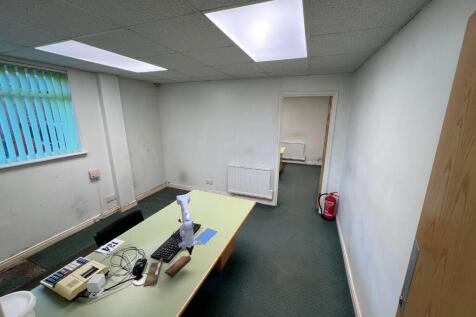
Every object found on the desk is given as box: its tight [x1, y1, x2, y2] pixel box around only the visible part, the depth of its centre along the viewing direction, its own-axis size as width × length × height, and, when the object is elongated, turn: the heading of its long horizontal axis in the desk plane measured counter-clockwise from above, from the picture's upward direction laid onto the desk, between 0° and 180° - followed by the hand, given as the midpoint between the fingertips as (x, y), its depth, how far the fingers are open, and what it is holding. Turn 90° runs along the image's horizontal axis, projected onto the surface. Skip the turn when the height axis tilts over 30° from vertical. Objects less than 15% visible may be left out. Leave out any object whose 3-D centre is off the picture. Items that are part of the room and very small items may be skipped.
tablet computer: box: [194, 227, 219, 246], centre depth 161 cm, size 19×13×1 cm, turn 151°
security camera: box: [85, 273, 107, 299], centre depth 110 cm, size 6×7×10 cm
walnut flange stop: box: [143, 258, 164, 287], centre depth 123 cm, size 18×8×4 cm, turn 10°
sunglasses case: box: [164, 255, 192, 278], centre depth 129 cm, size 18×7×7 cm
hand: (190, 254), depth 128 cm, fingers closed
